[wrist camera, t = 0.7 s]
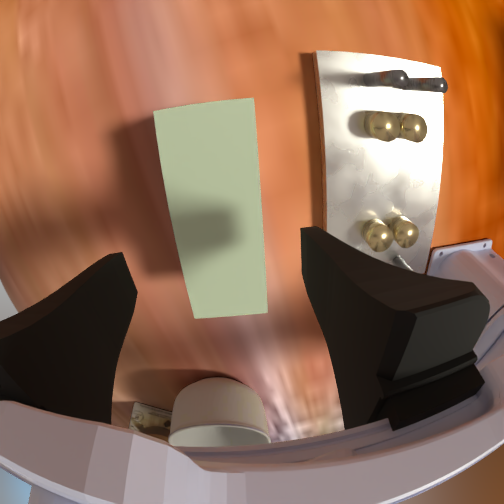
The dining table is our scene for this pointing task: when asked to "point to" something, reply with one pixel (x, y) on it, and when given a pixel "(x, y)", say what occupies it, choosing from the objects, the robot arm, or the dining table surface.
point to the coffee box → (151, 421)
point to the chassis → (380, 153)
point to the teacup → (218, 415)
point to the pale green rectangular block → (215, 204)
